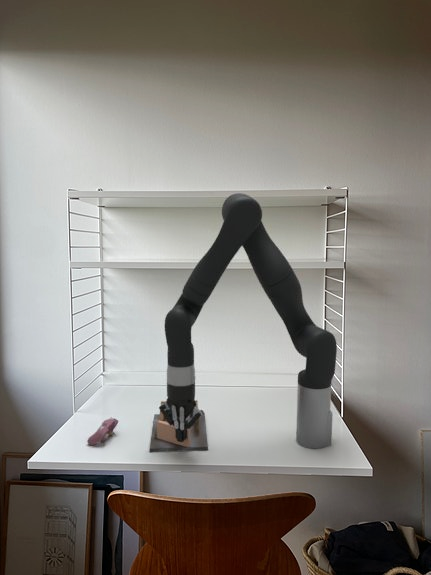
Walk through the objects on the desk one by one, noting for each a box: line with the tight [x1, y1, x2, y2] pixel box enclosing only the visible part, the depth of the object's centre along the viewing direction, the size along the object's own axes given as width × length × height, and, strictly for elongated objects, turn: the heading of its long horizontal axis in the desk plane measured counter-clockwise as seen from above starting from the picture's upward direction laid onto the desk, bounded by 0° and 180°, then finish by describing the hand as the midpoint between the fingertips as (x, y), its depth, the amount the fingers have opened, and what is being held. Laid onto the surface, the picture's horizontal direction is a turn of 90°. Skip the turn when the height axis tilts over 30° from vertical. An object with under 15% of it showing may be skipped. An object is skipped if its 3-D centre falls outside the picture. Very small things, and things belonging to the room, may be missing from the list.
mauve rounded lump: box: [86, 417, 119, 446], centre depth 138 cm, size 10×5×7 cm, turn 165°
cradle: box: [149, 400, 209, 453], centre depth 142 cm, size 16×22×6 cm
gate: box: [153, 419, 190, 447], centre depth 134 cm, size 12×2×5 cm, turn 60°
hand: (181, 440), depth 130 cm, fingers closed
